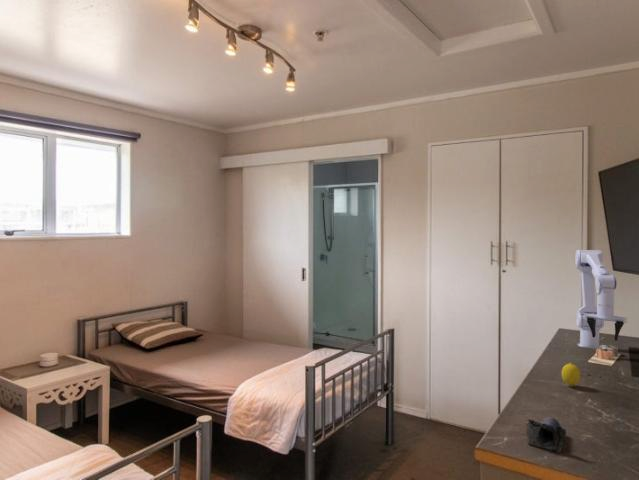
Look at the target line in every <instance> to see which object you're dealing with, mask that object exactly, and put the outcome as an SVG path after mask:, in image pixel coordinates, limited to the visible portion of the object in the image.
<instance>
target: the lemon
mask: <svg viewBox="0 0 639 480" xmlns="http://www.w3.org/2000/svg"><path fill="white" fill-rule="evenodd" d="M561 378H562V380H563V382H564V383H565V384H567V385H568V386H569V387H573V386H575V385H577V384H578V383H579V382H580V379H581V371H580V369H579V368H578V366H576V365H575V364H573V363H572V362H569V363H567V364H564V366H563V367H562V368H561Z"/></svg>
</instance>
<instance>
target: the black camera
mask: <svg viewBox="0 0 639 480" xmlns="http://www.w3.org/2000/svg"><path fill="white" fill-rule="evenodd" d="M527 421H528V422H527ZM525 422H527V423H525V426H526V437H527V442H528V443H527V444H528V445H531V446H536V447H538V448H540V449H541V450H546V449H547V450H550V451H552V452H556V453H560V452H561V451H562V448H563V447H562V446H563V444H564V441H565V437H566V436H567V430H568V429H567V428H564V427H563V426H561V424H560V423H559V421H558V420H557V419H556V418H554V417H552V416H546V417H545V418H543V419H542V420H541V422H537V421H535V420H534V419H526V420H525ZM548 433H551V434H552V435H551V437H549V436H548Z"/></svg>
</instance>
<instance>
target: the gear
mask: <svg viewBox="0 0 639 480" xmlns="http://www.w3.org/2000/svg"><path fill="white" fill-rule="evenodd" d="M595 354H596V357H598V358H599V359H605V360H608V359H610V360H612V359H613V351H611V350H609V349H607V351H602V349H595Z"/></svg>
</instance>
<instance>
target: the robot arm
mask: <svg viewBox="0 0 639 480" xmlns="http://www.w3.org/2000/svg"><path fill="white" fill-rule="evenodd" d="M574 258H575V259H574V260H575V261H574V262H575V267H576V269H577V270H579V271H580V276H581V277H580V279H581V292H582V293H581V295H582V307H580V308H579V309H577V310H576V315H575V316H576V317H575V318H576V319H575V321H576V325H577V327H578V328H580V332H579V343H577V347H581V348H587V349H589V348H590V349H595V350H596V349H598V345H600V331H601V329H603V327H604V325H605V322H606V321H607V322H614V341H615V342H616V341H618V339H619V335H620V332H621V330H622V328H623V326H624V324H627V323H628V318H627V317H625V316H624V317H623V316H618V315H615V312H614V311H615V309H614V308H615V306H614V305H615V290H616V289H617V286H618V281H617V277H616V275H615V274H611V273H610V271H609V270H608V268H607V266H605V265H604V264H602V263H603V259H604V255H603V252H602V250H601V249H595V250H594V249H589V250H588V249H577V250H576V251H575V255H574ZM594 281H595V284H594ZM594 285H595V286H594ZM595 291H596V294H597V296H596V295H595ZM595 296H596V297H597V298H596V297H595ZM596 299H597V300H596Z"/></svg>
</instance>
